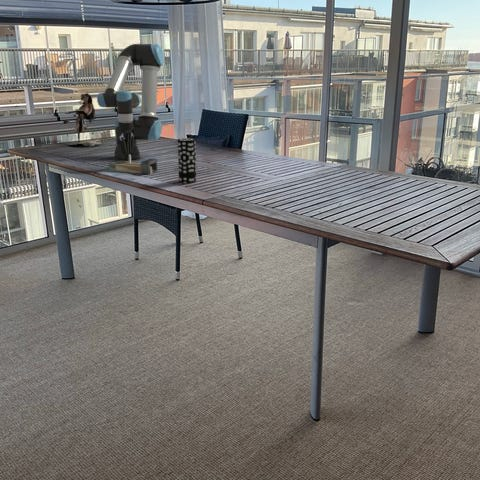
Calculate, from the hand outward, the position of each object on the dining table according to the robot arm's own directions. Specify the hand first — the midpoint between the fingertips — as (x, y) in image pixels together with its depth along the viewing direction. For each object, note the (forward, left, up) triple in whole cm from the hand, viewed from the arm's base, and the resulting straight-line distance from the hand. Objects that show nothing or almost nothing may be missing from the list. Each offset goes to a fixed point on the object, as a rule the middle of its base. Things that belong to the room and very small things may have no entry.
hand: (128, 166), depth 276 cm
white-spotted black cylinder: (+17, +42, -1) cm, 46 cm away
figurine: (-62, -70, -1) cm, 93 cm away
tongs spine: (+6, +5, -1) cm, 8 cm away
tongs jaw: (+3, +3, -1) cm, 4 cm away
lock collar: (+5, +15, -1) cm, 16 cm away
